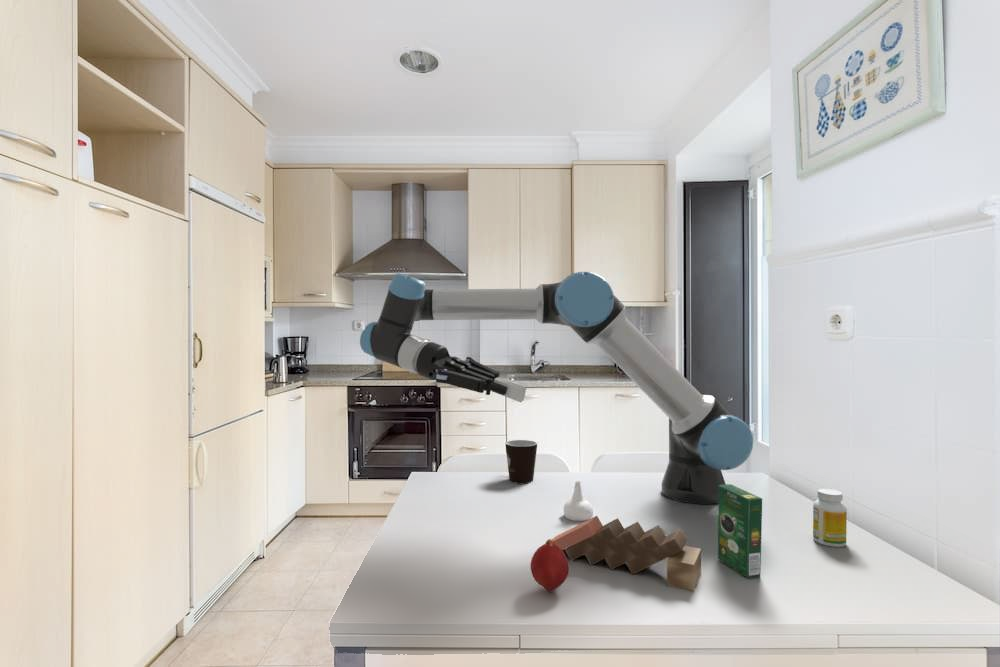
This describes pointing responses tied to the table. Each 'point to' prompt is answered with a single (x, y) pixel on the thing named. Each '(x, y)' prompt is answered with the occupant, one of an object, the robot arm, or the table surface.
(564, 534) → the domino
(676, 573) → the end block
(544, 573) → the onion
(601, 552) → the domino
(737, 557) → the coffee box
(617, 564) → the domino
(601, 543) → the domino
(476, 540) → the table surface
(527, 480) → the coffee mug
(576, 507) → the garlic bulb
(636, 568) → the domino
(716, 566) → the table surface
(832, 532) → the supplement bottle
